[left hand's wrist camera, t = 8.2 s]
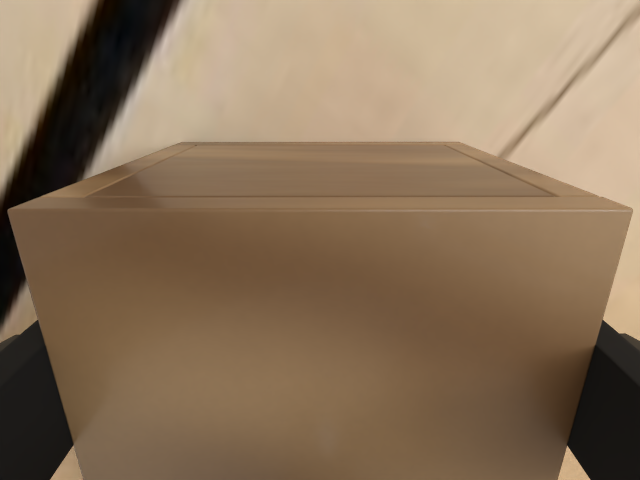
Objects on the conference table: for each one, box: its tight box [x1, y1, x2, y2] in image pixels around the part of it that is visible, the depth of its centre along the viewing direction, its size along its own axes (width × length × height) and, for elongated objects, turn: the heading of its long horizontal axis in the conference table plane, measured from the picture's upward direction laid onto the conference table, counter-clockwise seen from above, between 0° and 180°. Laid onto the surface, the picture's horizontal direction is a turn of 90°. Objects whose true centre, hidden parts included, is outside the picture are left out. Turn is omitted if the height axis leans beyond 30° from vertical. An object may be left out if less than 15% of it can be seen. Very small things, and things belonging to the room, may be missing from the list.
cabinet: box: [8, 142, 633, 480], centre depth 15 cm, size 21×11×10 cm, turn 0°
